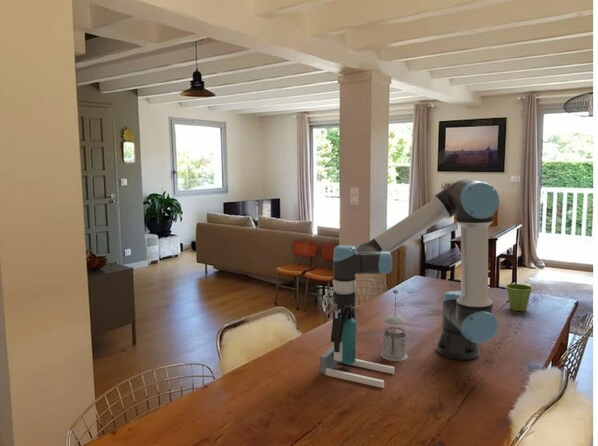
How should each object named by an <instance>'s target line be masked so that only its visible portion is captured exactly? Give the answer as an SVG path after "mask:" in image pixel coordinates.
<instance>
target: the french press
mask: <svg viewBox="0 0 598 446" xmlns="http://www.w3.org/2000/svg"><path fill="white" fill-rule="evenodd" d="M392 291H393V292H392V293H393V294H395V296H394V297H395V298H394V300H395V301H394V314H390V315H387V316H385V317H384V318H383V321H384V323H387V324H389V325H394V326H389V327H386V328H385V329H384V333H383V337H384V338H383V350H382V352H381V353H380V356H381V357H382V358H383V359H385V360H387V361H390V362H402V361H405V360H407V359H408V354H407V353H406V338H407V336H406V333H405V329H403V328H401V327H396V325H397V326H398V325H402V324H405V323H406V322H407V319H406V318H405V317H403V316H401V315H398V314H396V307H397V306H396V305H397V304H396V303H397V294H399V291H398V289H393V290H392Z"/></svg>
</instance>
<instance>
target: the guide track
mask: <svg viewBox="0 0 598 446" xmlns="http://www.w3.org/2000/svg"><path fill="white" fill-rule="evenodd" d="M319 361H320V362H319V365H320V366H319V369H320V370H319V374H320V375H325V376H327V377H328V376H329V377H334V378H337V379H342V380H345V381H346V380H347V381H351V382H355V383H358V384H364V385H367V386H373V387H377V388H382V389H383V388H384V387H385V380H383V379H380V378H374V377H371V376H367V375H361V374H356V373H352V372H347V371H343V370H338V369H333V368H335V367H336V365H338V364H341V363H340V362H339V361H336V360H334V344H333V345H332V346H331V347H330V348H328V349H327V350H326V351H325V352H324V353H323V354H321V356H320V357H319ZM348 365H349V366H354V367H359V368H362V369H369V370H372V371H377V372H382V373H388V374H392V375H394V373H395V366H391V365H386V364H382V363H376V362H372V361H367V360H364V359H362V360H361V359H359V358H358V359H357V358H356V359H355V362H354V363H351V364H348Z"/></svg>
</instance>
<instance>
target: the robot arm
mask: <svg viewBox="0 0 598 446" xmlns="http://www.w3.org/2000/svg"><path fill="white" fill-rule="evenodd" d="M499 206H500V196H499V193H498V191H497V189H496V188H495V187H494V186H493V185H491V184H490V183H488V182H485V181H483V180H473V179H472V180H471V179H460V180H456V181H455V182H453V183H451V184H450V185H448V186H447V187H445V188H444V189H442V190H440V191H439V192H438V193H436V194H434V195H433V196H432V199H431V201H428V203H426V204H424V205H423V206H422V207H420V208H418V209H417V210H415V211H414V212H412V213H411V214H409V215H407V216H406V217H405V218H402V220H400V221H399V222H397V223H396V224H394V225H392V226H390V227H389V228H388V229H386V230H385V231H383V232H381V233H380V234H379V235H377V236H376V237H373V238H372V239H371V240H369V241H368V242H363V243H360V244H358V245H357V247H356V246H355V245H349V244H339V245H336V246H334V248H333V256H332V257H333V258H332V269H333V270H332V273H333V275H332V276H333V277H332V285H333V286H332V287H333V288H332V289H333V293H332V302H333V303H334V304H335V305H337V307H336V311H333V312H332V324H331V325H332V326H331V332H330V333H331V335H330V342H331V343H333V345H334V360H336V361H342V342H341V339H342V333H343V328H344V323H346V320H347V318H350V319H351V318H352V317H353V318H354V319H355V320H356V321H357V319H356V317H357V316H356V289H357V288H356V287H357V282H356V278H357V277H356V276H357V275H384V274H385V275H387V274H391V272H392V270H393V256H392V254H391V253H392V252H393V251H395V250H397V249H398V248H400V247H401V246H403V245H405V244H406V243H407V242H409V241H410V240H412V239H414V238H415V237H417V236H419V235H421V234H422V233H423V232H425V231H426V230H428V229H430V228H431V227H432V226H434V225H436V224H437V223H439V222H440V221H442V220H443V219H450V218H452V217H453V216H455V222H456V223H457V225H459V227H460V290H452V291H451V290H449V291H446V292H444V293H443V297H442V318H441V319H442V321H441V323H442V326H441V331H440V334H439V337H438V340H437V342H436V352H438V354H439V355H442V356H443V357H445V358H449V359H452V360H458V361H459V360H460V361H467V360H474V359H476V358H478V357H479V355H480V348H479V344H482V343H486V342H489V341H491V339H492V338H494V337H495V336H496V334H497V333H498V329H499V322H498V319H497V317H496V315H495V314H494V304H493V303H494V301H493V300H492V299H491V298H490V297H489V226H490V225H491V224H493V222H494V214H495V213H496V212H497V211H498V209H499ZM352 308H353V315H351V311H352ZM349 314H350V315H351V316H349ZM342 319H344V320H342ZM356 331H357V327H356Z"/></svg>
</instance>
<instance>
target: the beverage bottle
mask: <svg viewBox="0 0 598 446" xmlns="http://www.w3.org/2000/svg"><path fill="white" fill-rule="evenodd" d="M351 315H353V308H352V311H351ZM351 315H350V314H349V316H351ZM342 320H344V319H342ZM356 328H357V319H356V320H355V319H354V318H353V317H352V318H351V319H350V318H347V320H346V323H344V328H343V333H342V339H341V342H342V361H339V362H340V363H339V364H344V365H349V364H351V363H354V362H355V359H357V358H356V356H357V350H356V348H357V345H356V344H357V341H356V340H357V330H356Z"/></svg>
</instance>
